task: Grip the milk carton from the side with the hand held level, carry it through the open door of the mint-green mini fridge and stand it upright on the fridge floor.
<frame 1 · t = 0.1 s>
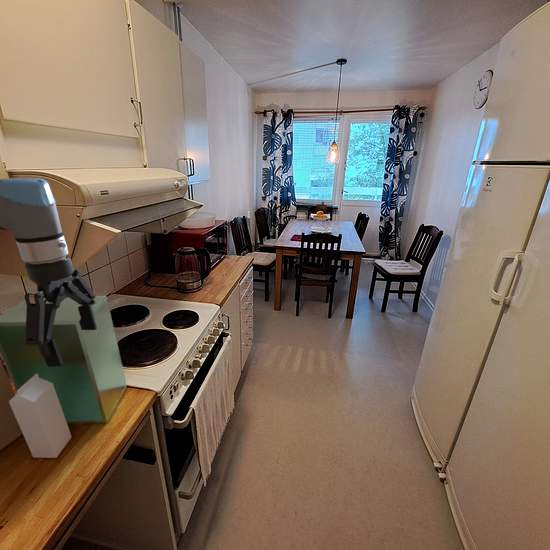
hand: (74, 345, 66), 31 cm above the worktop, tool pointing down, fingers open, 13 cm apart
milk: (53, 447, 75), on the worktop
fridge: (82, 404, 88), on the worktop
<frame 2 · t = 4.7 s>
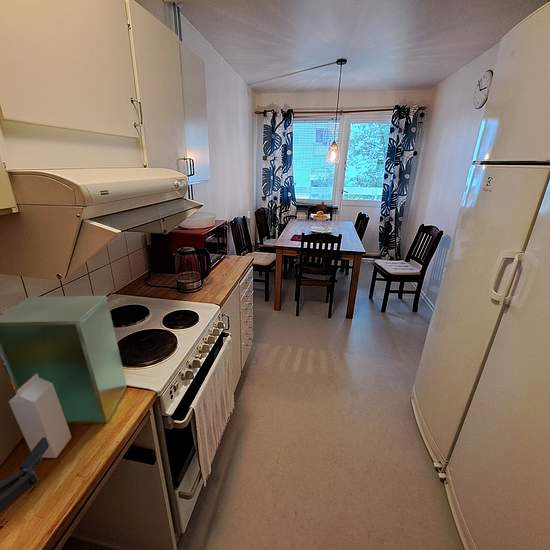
hand: (13, 442, 62), 13 cm above the worktop, tool horizontal, fingers open, 13 cm apart
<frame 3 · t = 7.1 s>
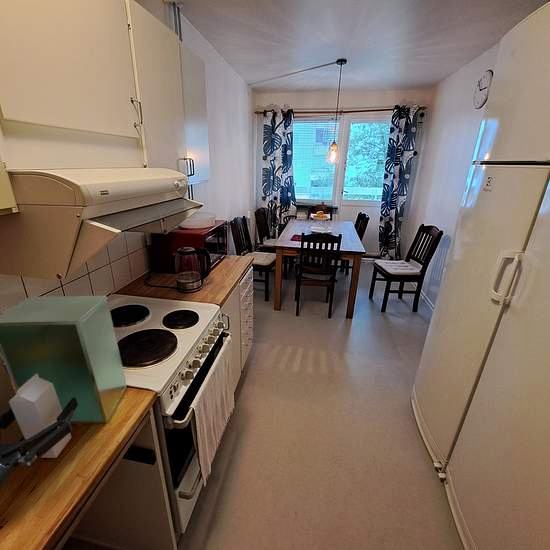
hand: (49, 402, 74), 12 cm above the worktop, tool horizontal, fingers open, 12 cm apart
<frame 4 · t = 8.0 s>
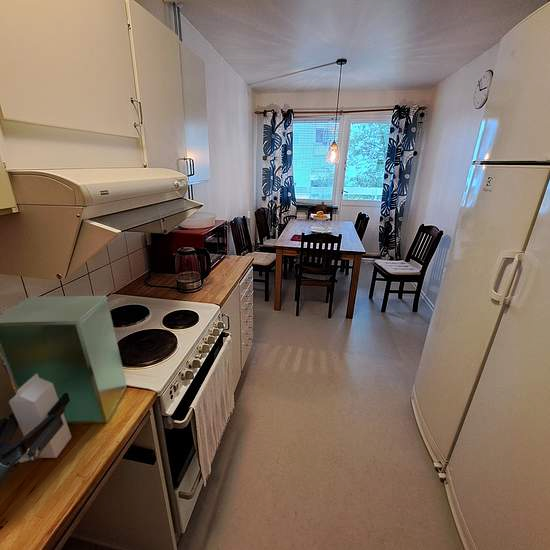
hand: (53, 397, 75), 12 cm above the worktop, tool horizontal, fingers closed on milk, 6 cm apart
milk: (53, 447, 75), on the worktop, touching gripper
everything else where it was.
when the fingers open (13 cm above the worktop, at t = 14.1 s): milk stays where it is, resting on fridge.
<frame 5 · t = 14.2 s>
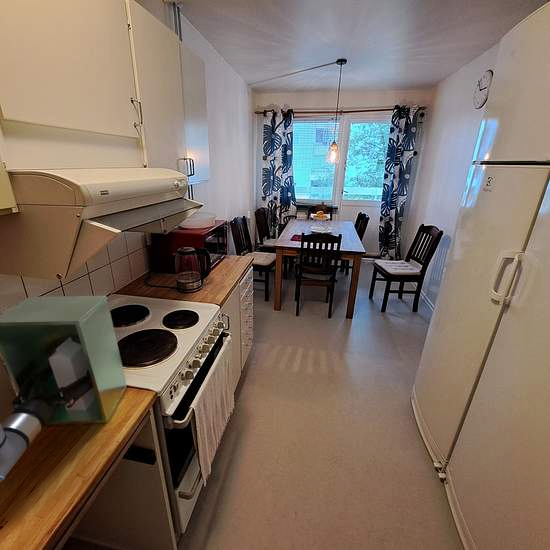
hand: (79, 361, 86), 13 cm above the worktop, tool horizontal, fingers open, 12 cm apart
milk: (82, 402, 88), point 1 cm above the worktop, touching fridge
everything else where it was.
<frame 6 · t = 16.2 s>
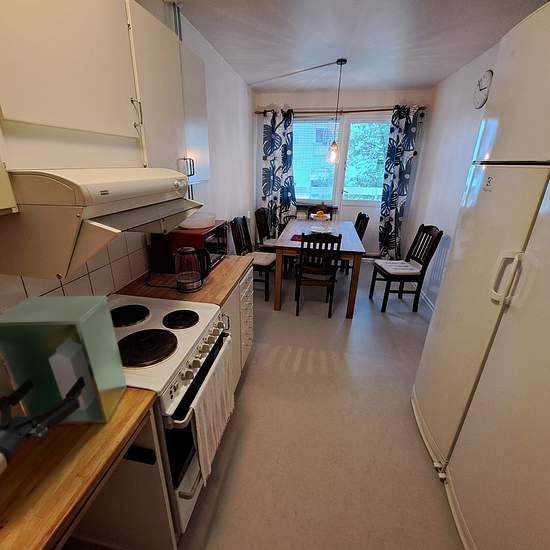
hand: (57, 381, 77), 15 cm above the worktop, tool horizontal, fingers open, 13 cm apart
everything else where it was.
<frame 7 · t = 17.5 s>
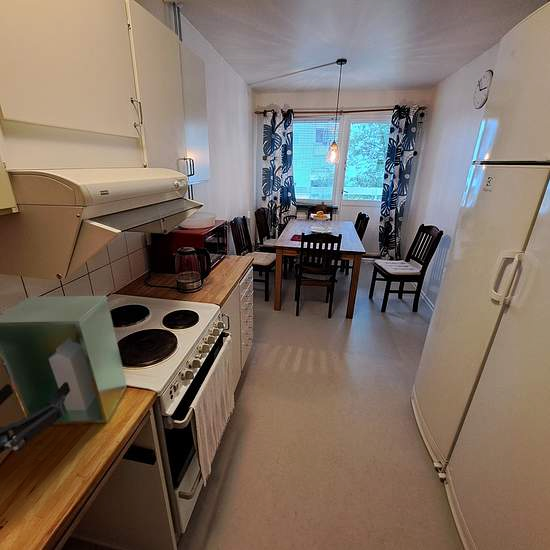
hand: (39, 387, 70), 18 cm above the worktop, tool horizontal, fingers open, 13 cm apart
everything else where it was.
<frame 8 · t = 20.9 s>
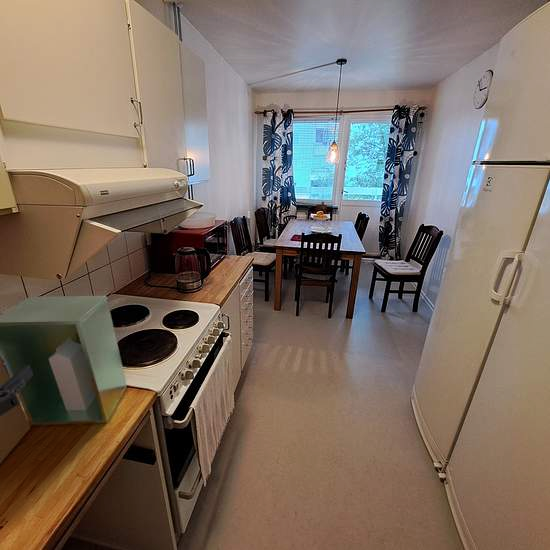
nothing on the worktop moved.
at the end: milk inside the target area in the fridge (0.1 cm from its centre), point 0.8 cm above the fridge's base; milk tilted 0°; the gripper is holding nothing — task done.
